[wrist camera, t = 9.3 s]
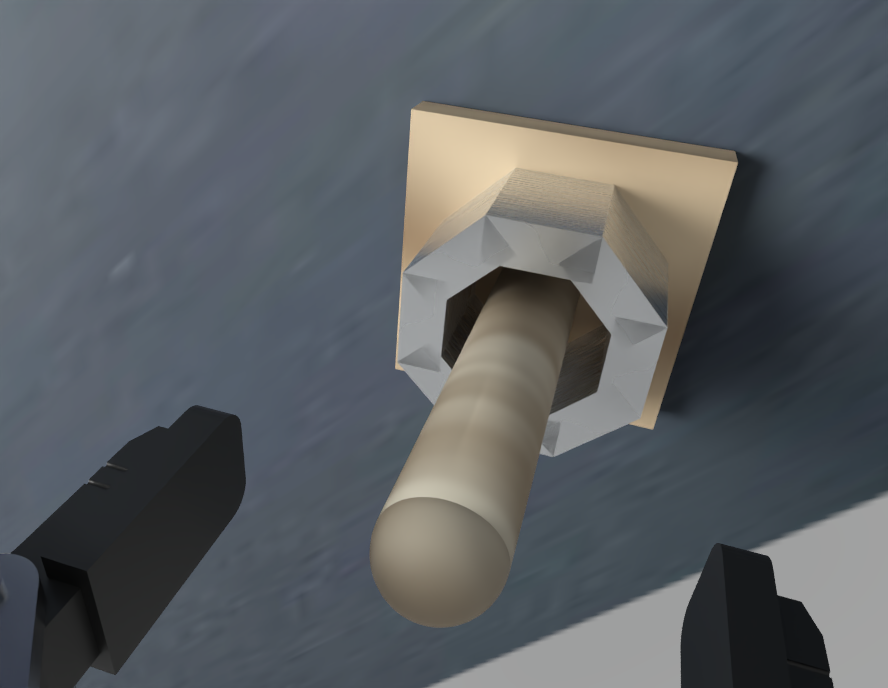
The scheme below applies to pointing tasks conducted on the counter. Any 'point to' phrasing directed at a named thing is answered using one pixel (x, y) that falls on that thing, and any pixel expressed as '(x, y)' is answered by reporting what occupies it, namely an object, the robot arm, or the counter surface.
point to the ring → (554, 254)
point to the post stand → (519, 343)
